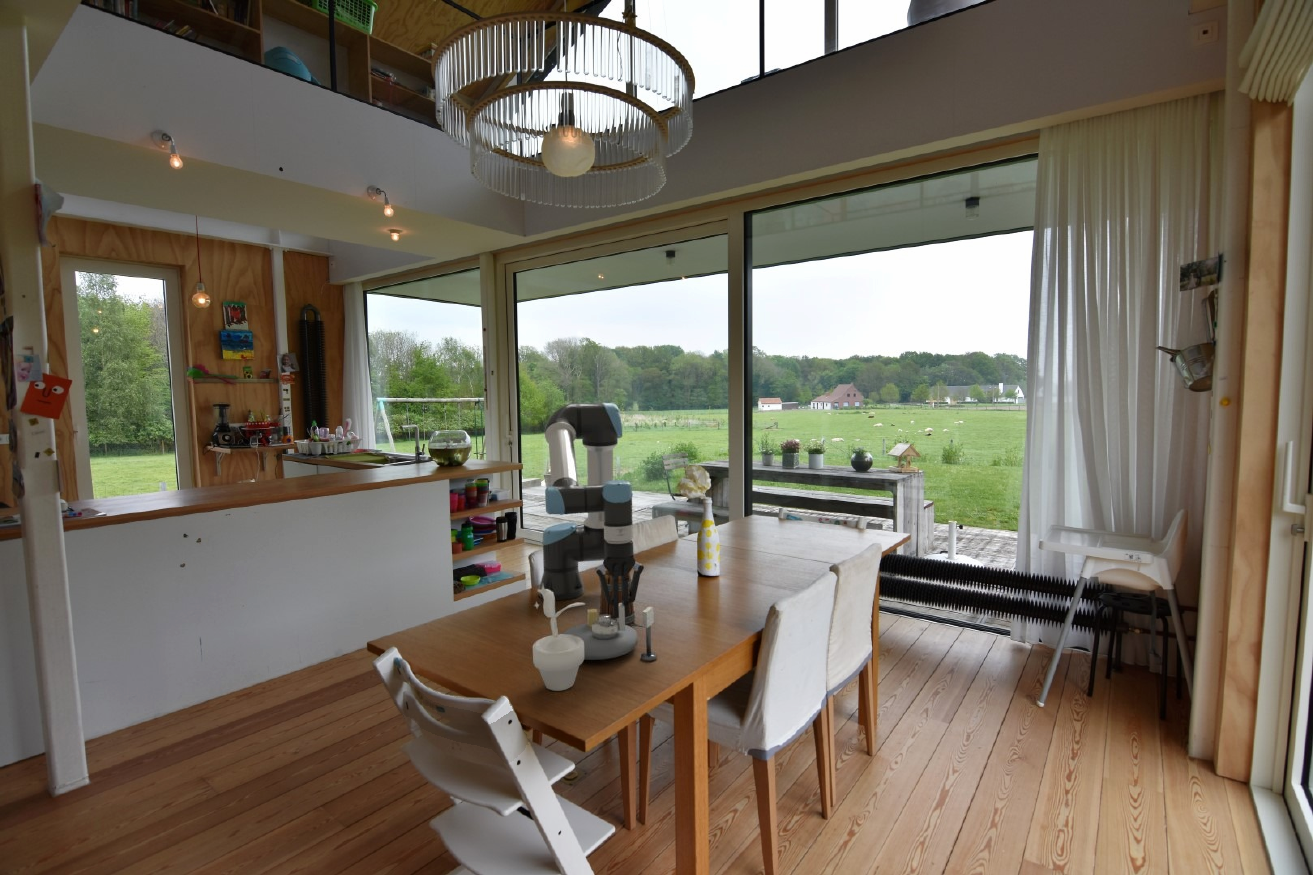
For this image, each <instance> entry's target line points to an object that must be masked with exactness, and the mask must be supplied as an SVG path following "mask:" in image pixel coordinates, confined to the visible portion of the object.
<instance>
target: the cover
mask: <svg viewBox="0 0 1313 875" xmlns="http://www.w3.org/2000/svg"><path fill="white" fill-rule="evenodd" d="M618 636H619V623H618V621H616V620H612V619H611V615H609V614H603V615H600V616H599V615H598V620H597V621H595V622H593V623H592V637H593V638H594V639H597V640H611V639H615V638H617V637H618Z"/></svg>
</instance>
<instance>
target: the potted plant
mask: <svg viewBox="0 0 1313 875" xmlns="http://www.w3.org/2000/svg"><path fill="white" fill-rule="evenodd" d="M536 591H537V592H538V593H539V592H540V593H541V594H542V595H543V598H542V599H543V604H542V608H543V614H544V615H545V616H546V617H547V618H550V622H549V623H550V628H551V634H552V635H547V636H544V637H541V638H539V639H538V640H536V641H535V642H534V643H533V644H532V660H533V661H532V663H533V665H534V666H535V668H536V669H538V670H539V673H540V675H541V678H542V681H543V683H544V686H545V687H546V689H547V690H551V691H553V692H554V691H555V692H560V691H561V692H562V691H565V690H568V689H569V688H571V687H573V686H574V684H575V682H576V678H577V675H578V672H579V668H580V666H581V665H582V664H583V663H584V660H585V659H584V641H583V640H582V639H581V638H580V637H577V636H574V635H567V634H563V633H558V632H559V631H558V624H557V623H558V622H557V617H559V616H560V615H561V614H562V613H563V612H564V611H565V610H568V609H570V608H573V607H578V606H579V607H580V606H586V603H585V602H574V603H571V604H568V605H567V606H566V607H564V608H562V609H560V610H559V611H557V612H556V600H555V597H554V594H553V592H552V591H550V590H549V589H544V586H542V589H541V590H539V589H537V590H536ZM539 606H540V604H538V602H537V601H535V604H534V605H533V607H536V609H538V608H539Z"/></svg>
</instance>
